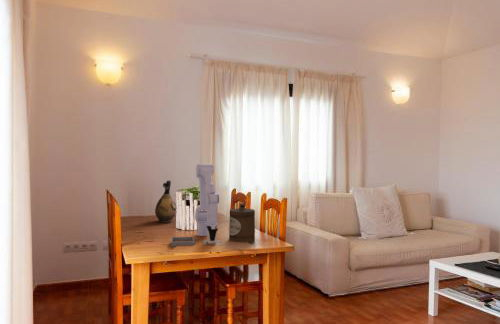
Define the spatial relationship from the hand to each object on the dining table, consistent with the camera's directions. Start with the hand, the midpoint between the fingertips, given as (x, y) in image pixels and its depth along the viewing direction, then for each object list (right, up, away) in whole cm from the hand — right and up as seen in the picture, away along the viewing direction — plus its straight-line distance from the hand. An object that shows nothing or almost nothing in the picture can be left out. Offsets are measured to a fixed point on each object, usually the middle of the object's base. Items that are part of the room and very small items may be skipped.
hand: (211, 239), depth 220 cm
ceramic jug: (-41, -1, +72) cm, 82 cm away
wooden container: (+16, -3, +9) cm, 19 cm away
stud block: (0, -3, 0) cm, 3 cm away
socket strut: (0, -1, 0) cm, 1 cm away
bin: (-16, -2, -2) cm, 16 cm away
